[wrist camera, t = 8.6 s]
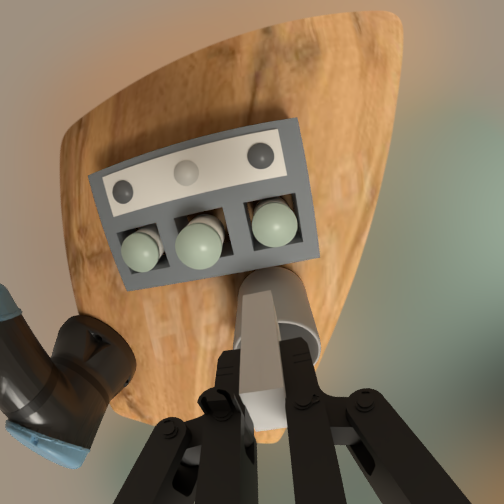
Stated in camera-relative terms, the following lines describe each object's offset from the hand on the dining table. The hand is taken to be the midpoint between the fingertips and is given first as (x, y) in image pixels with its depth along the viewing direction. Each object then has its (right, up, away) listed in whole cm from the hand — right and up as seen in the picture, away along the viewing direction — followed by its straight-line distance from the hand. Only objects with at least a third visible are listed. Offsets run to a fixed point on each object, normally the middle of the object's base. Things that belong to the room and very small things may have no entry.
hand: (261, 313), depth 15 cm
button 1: (+2, +7, +15) cm, 16 cm away
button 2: (-12, +5, +16) cm, 21 cm away
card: (-7, +11, +10) cm, 16 cm away
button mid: (-5, +5, +13) cm, 15 cm away
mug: (+1, -4, +21) cm, 21 cm away
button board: (-6, +9, +16) cm, 19 cm away
